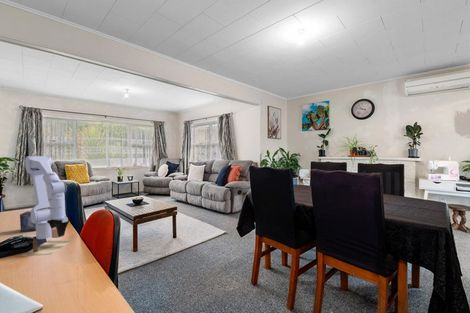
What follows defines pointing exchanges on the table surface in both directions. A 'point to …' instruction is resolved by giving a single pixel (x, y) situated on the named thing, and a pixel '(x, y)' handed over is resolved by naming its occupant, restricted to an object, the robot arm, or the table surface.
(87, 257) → the table surface
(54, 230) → the light brown wooden block
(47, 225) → the robot arm
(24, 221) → the small box
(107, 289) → the table surface
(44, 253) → the board
